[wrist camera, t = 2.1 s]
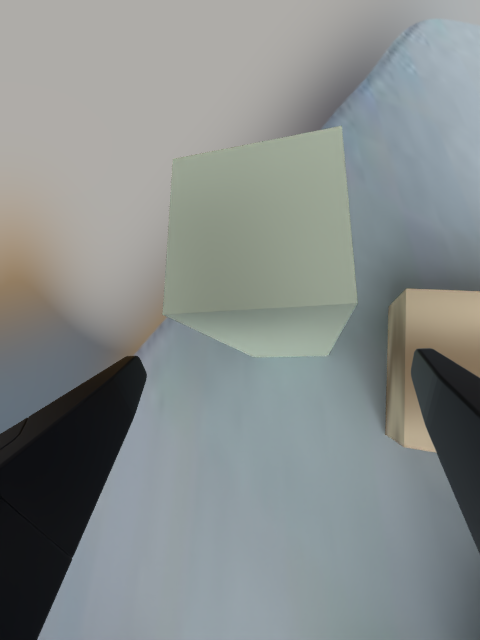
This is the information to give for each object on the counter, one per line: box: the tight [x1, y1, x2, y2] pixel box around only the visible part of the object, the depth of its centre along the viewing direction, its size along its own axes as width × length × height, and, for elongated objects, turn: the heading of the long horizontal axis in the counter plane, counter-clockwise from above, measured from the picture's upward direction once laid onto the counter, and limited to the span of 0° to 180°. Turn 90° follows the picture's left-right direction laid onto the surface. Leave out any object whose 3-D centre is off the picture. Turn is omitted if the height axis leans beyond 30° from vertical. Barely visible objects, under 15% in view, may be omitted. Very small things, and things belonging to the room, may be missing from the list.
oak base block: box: [385, 289, 480, 453], centre depth 15 cm, size 8×8×4 cm
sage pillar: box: [163, 126, 358, 357], centre depth 14 cm, size 5×5×13 cm
